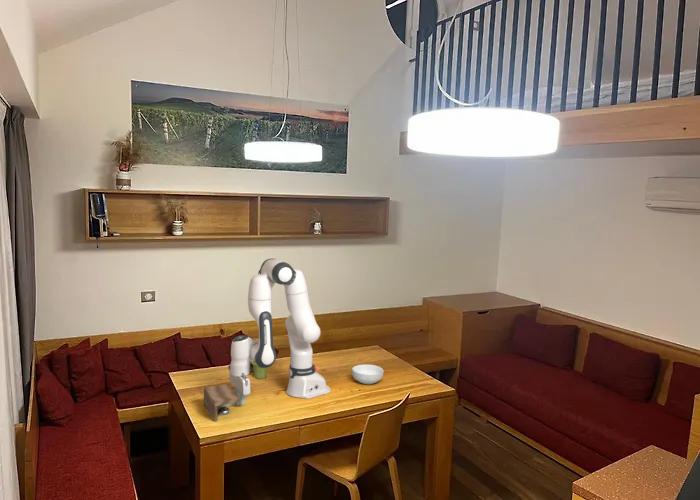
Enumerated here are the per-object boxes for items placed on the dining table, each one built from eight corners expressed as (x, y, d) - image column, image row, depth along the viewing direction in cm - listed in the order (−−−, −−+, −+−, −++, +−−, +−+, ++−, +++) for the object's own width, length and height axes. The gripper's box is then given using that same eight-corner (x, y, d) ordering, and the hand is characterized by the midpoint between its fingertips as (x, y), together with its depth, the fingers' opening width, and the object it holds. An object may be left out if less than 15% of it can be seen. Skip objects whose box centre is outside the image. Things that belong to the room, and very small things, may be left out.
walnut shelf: (227, 402, 265) (227, 384, 263) (239, 416, 249) (239, 397, 248) (203, 406, 259) (203, 387, 258) (214, 421, 243) (214, 402, 242)
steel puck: (227, 410, 256) (227, 406, 256) (230, 414, 252) (230, 410, 251) (216, 412, 253) (216, 408, 253) (219, 416, 249) (220, 412, 249)
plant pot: (248, 376, 299) (248, 360, 298) (263, 372, 305) (263, 357, 304) (257, 381, 292) (257, 365, 291) (272, 377, 298) (272, 362, 297)
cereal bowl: (387, 379, 302) (388, 367, 302) (375, 389, 287) (376, 376, 287) (359, 374, 309) (359, 361, 309) (346, 383, 294) (346, 370, 294)
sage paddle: (242, 401, 267) (242, 387, 266) (245, 404, 263) (245, 390, 262) (209, 406, 259) (209, 392, 258) (211, 409, 255) (211, 395, 254)
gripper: (254, 376, 254) (253, 404, 256) (239, 362, 272) (239, 389, 274) (240, 378, 251) (240, 407, 253) (227, 364, 269) (226, 391, 271)
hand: (239, 397), depth 263 cm, fingers open, 8 cm apart
